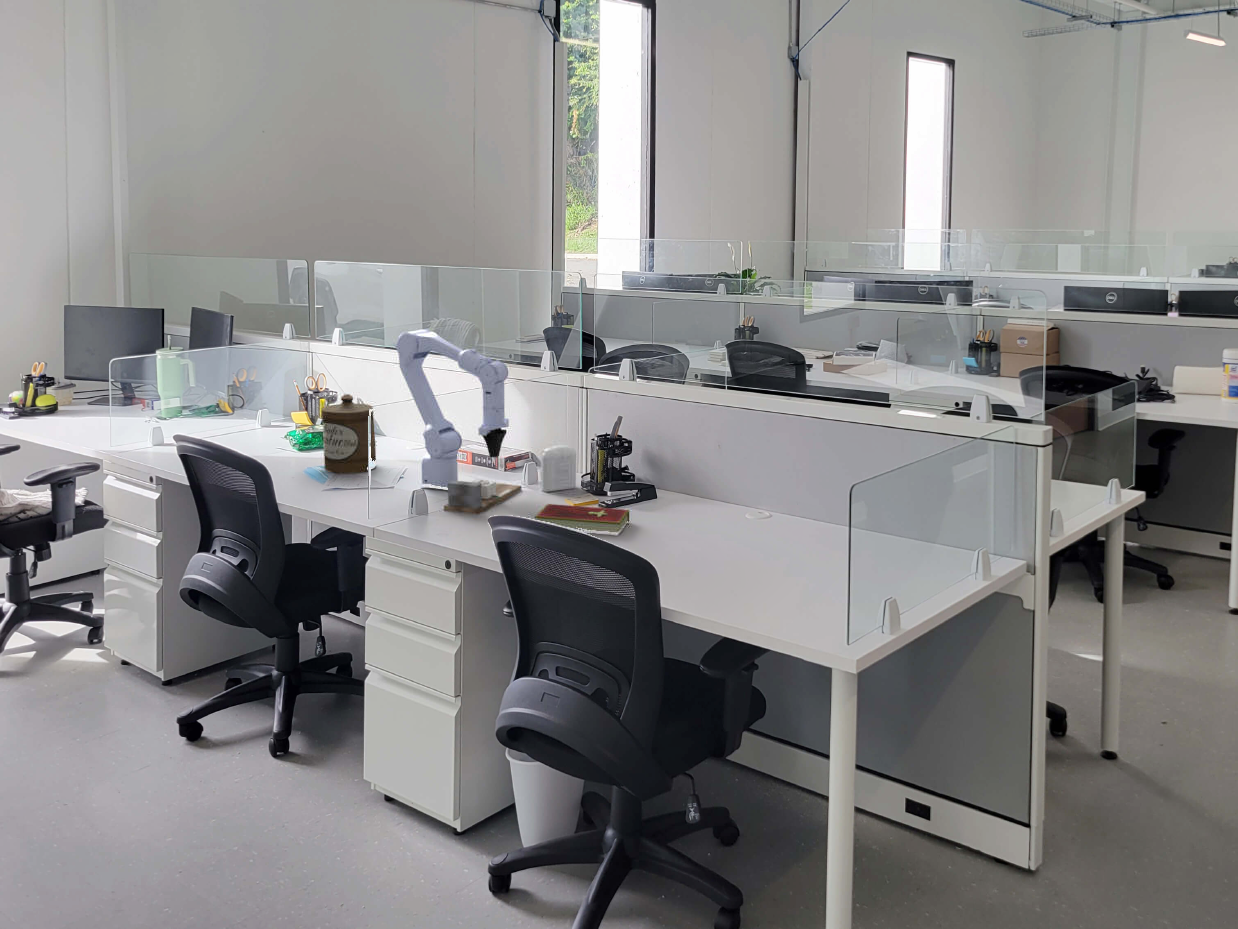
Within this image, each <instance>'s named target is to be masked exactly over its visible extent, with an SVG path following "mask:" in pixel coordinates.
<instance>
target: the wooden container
mask: <svg viewBox="0 0 1238 929" xmlns="http://www.w3.org/2000/svg"><path fill="white" fill-rule="evenodd" d="M340 400H341V403H337V404H330V405H326V406H324V407H322V408H321V416H322V417H321V418H322V427H323V428H322V432H323V433H322V434H323V441H322V442H323V456H324V457H323V458H324V470H326V471H328V472H330V473H335V474H358V473H365V472H368V471H367V467H368V416H369V409H373V411H372V412H371V458H372V461H373V460H374V461H375V460H376V461H377V455H376V454H377V452H376V451H377V450H376V449H377V448H376V436H375V423H374V408H373V406H372V405H371V404H365V403H354V402H353V400H354V396H353V395H351V394H349V393H345V394H343V395H342V396H341V397H340Z"/></svg>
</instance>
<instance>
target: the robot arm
mask: <svg viewBox="0 0 1238 929" xmlns="http://www.w3.org/2000/svg"><path fill="white" fill-rule="evenodd" d="M394 347H395V349H396V351H397V353H398V362H399V370H400V371H401V374H402V376H403V379H404V381H405V382H406V385H407V387H408V389H409V391H410V394H411V396H412V398H413V401H414V403H415V405H416V407H417V409H418V412H419V414H420V415H421V416H420V417H421V419H422V422H424V425H425V428H424V431H423V433H422V436H423V438H424V443H425V444H424V446H425V449H426V452H427V453H428V454H425V455H424V456H423V458H422V460H421V461H422V462H421V485H422V484H431V485H435V486H441V487H447V488H448V483H449V482H451V481H453V480H455V481H459V478H458V475H459V474H458V469H459V468H458V454H459V450H460V449H461V447H462V444H463V438H462V436H461V434H460V432H459V431H458V430H456V428H455V427H454V425H453V422H451V421H449V420H447V419H446V418H445V416H444V414H443V412H442V409H441V408H440V405H439V403H438V401H437V398H436V397H435V394H434V392H433V388H432V387H431V385H430V382H429V381H428V379H427V376H426V374H425V371H424V369H423V364H424V361H425V359H426V358H427V357H428V356H429V354H430V353H431V352H435V353H437V354H439V355H441V356H444V357H446V358H447V359H451V360H453V361H455V362H457V364H458V368H460V369H461V370H463V371H465V372H467V373H468V374H471V375H472V376H474V377H476V378H478V380H479V382H480V383H481V389H482V424H481V425H480V427H478V436H482V438H483V440H484V442H485V443H486V444H485V445H486V448H487V451H488V454H489V457H490V458H498V457H499V456H500V453H501V448H502V444H503V441H504V439H505V436H506V434H507V430H506V429H503V428H508V427H510V426H509V425H510V424H509V422H510V421H509V418H506V417H505V415H506V414H505V381H506V380H507V378H508V377H509V369H508V367H507V365H506V364H505V363H504V362H502V361H501V360H494V361H493V360H492V358H491V357H490V356H489V357H486V356H484V355H482V354H480V353H479V352H478V350H477V349H475V348H471V349H469V348H467V349H465V350H463V349H462V348H460V347H458V346H456V345H454V344H452V343H451V342H449V341H447V339H444V338H443V337H441V336H440V335H438V333H436V332H435V331H431V330H429V329H427V328H421V329H419V330H413V331H405V332H404V331H403V332H401V333H400V334H399V336H398V338H397V340H396V343H395V346H394Z"/></svg>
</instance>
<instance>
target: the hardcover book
mask: <svg viewBox="0 0 1238 929" xmlns="http://www.w3.org/2000/svg"><path fill="white" fill-rule="evenodd" d="M534 519H536V521H537V520H540V521H545V522H550V523H554V524H557V525H561V526H565V527H570V528H574V529H578V528H582V529H587V530H596V531H609V532H619V531H620V530H621V529H622V527H623V526H624V525H625V524H626V522H627V521H628V522H629V523H630V509H622V508H621V509H620V508H619V509H618V508H610V507H609V508H608V507H607V508H605V507H597V506H596V507H594V506H580V505H578V506H577V505H567V504H554V503H553V504H552V503H550V504H549V503H547V504H545V505H544V506H543V508H542V509H540V511H539V512H538V513H536V515H535V516H534ZM626 525H627V524H626ZM576 527H577V528H576ZM579 530H581V529H579ZM583 531H584V530H583Z"/></svg>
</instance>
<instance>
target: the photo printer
mask: <svg viewBox="0 0 1238 929" xmlns="http://www.w3.org/2000/svg"><path fill="white" fill-rule="evenodd" d="M576 473H577V451H576V449H575V447H572V446H570V445H565V444H558V445H554V446H550V447H548V448H544V449H543V450H542V451H541V453H540V489H541V491H542V492H545V493H547V492H548V493H549V492H554V491H562V490H570V489H575V488H576V487H577V485H576V484H577V483H576V482H577V480H576V479H577V474H576Z"/></svg>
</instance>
